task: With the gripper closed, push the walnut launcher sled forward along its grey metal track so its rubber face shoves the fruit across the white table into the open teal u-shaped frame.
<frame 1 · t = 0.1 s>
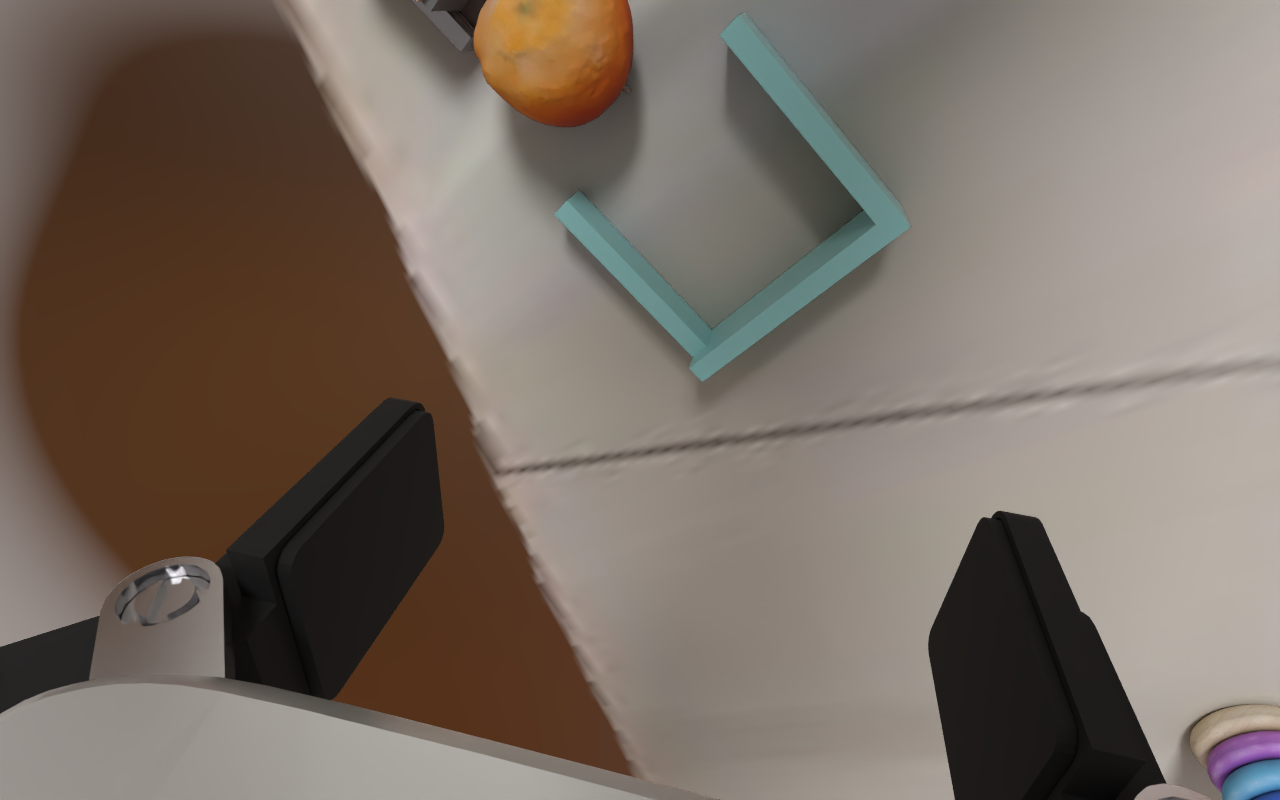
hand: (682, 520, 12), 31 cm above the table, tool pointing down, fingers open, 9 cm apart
teal u-shaped frame: (724, 203, 40), on the table
fruit: (579, 38, 37), on the table
stacking toy: (1246, 730, 51), on the table
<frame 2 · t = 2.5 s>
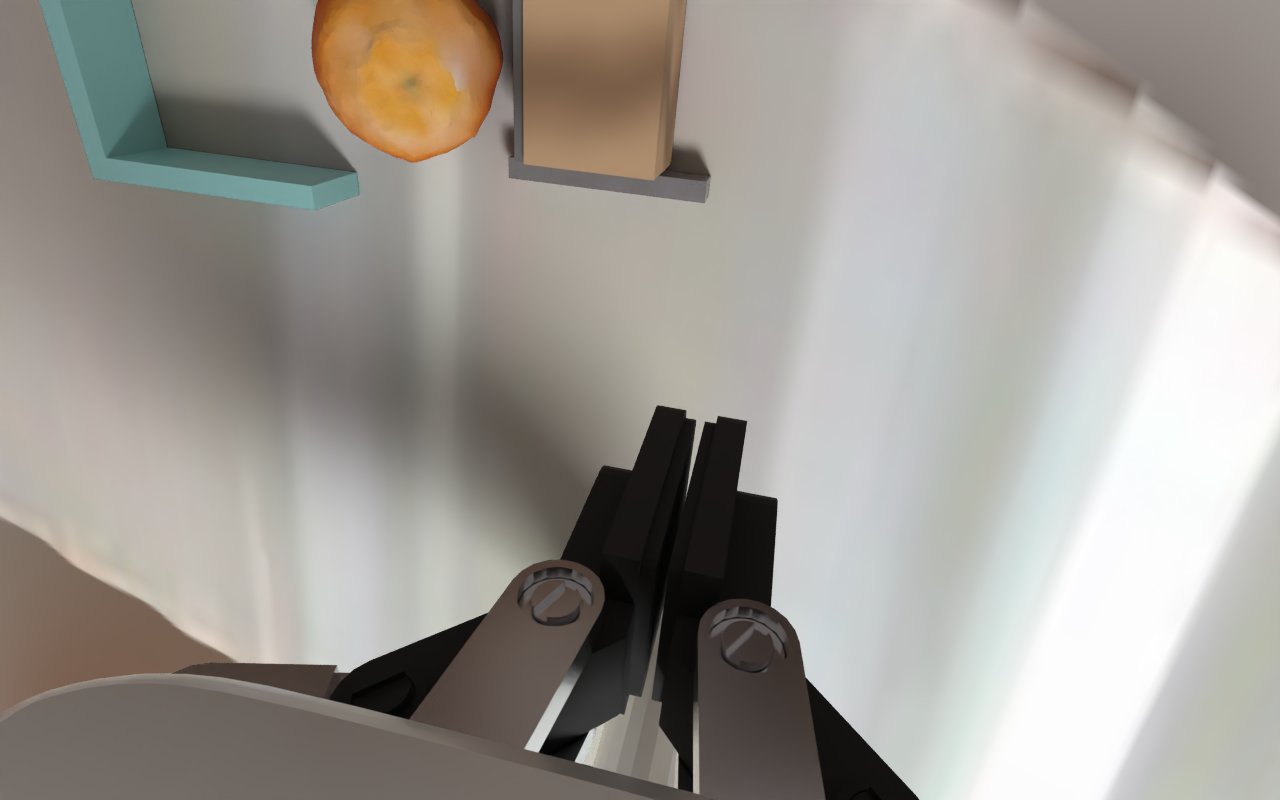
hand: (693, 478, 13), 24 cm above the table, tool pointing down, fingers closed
teal u-shaped frame: (229, 39, 35), on the table
launcher sled: (598, 82, 30), point 3 cm above the table, slide at 0.0 cm
launcher track: (617, 79, 32), on the table
fruit: (445, 61, 34), on the table
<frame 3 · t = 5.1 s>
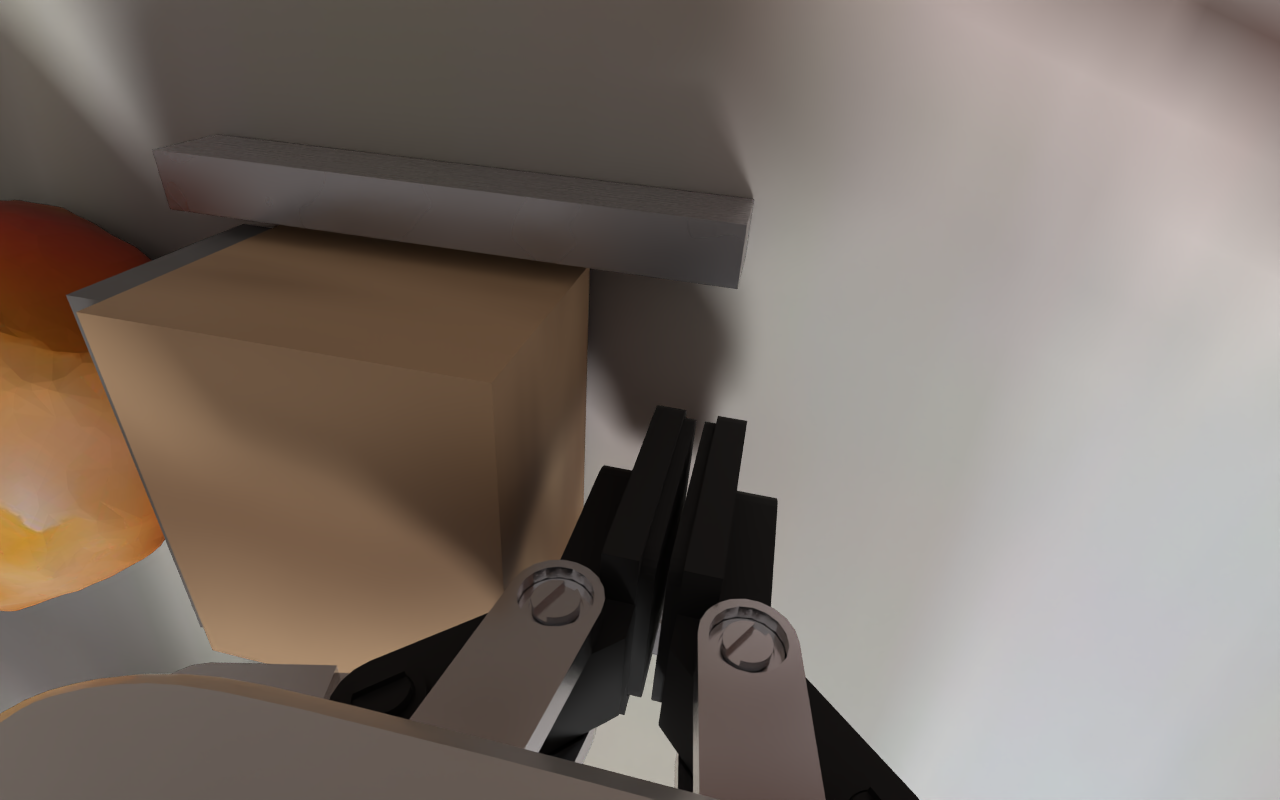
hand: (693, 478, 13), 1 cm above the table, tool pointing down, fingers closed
launcher sled: (379, 460, 12), point 3 cm above the table, slide at 0.7 cm, touching gripper
launcher track: (484, 401, 14), on the table
fruit: (131, 333, 16), on the table
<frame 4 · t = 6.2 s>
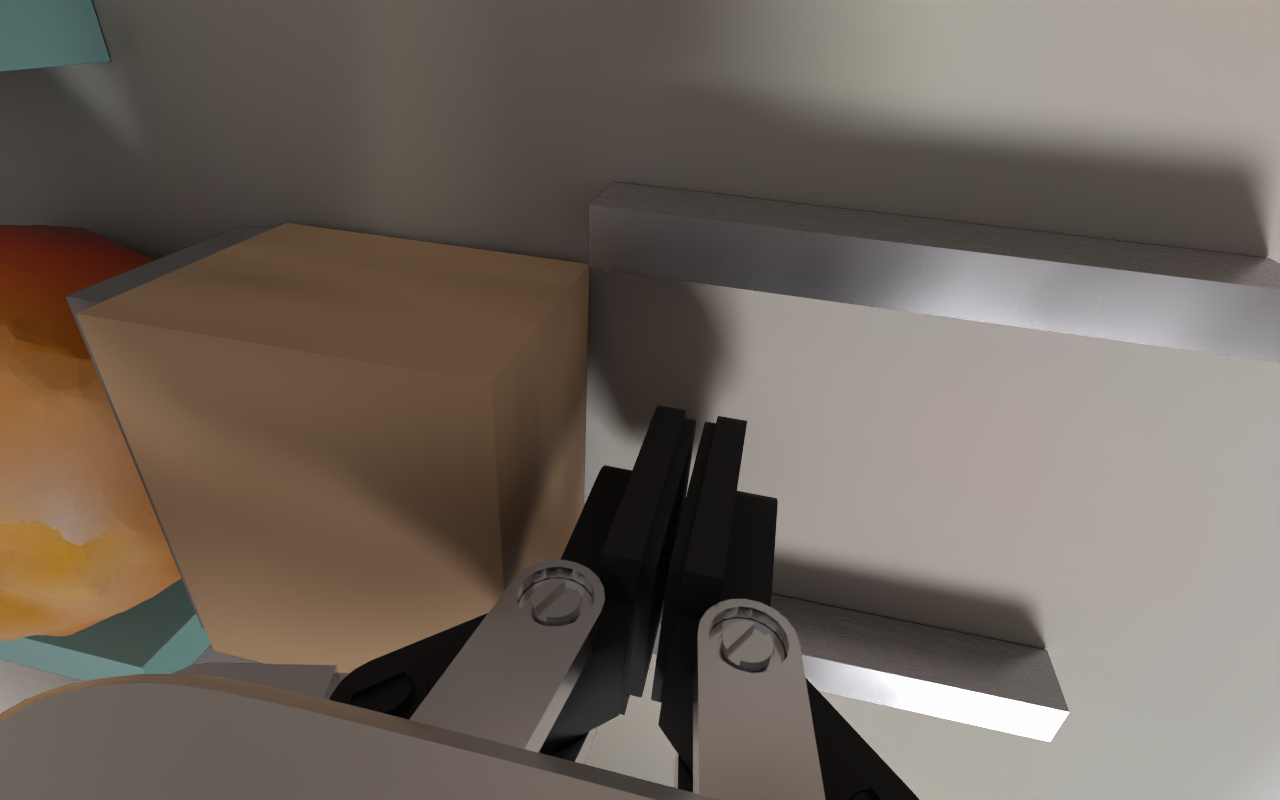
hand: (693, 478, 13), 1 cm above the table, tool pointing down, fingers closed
launcher sled: (380, 461, 12), point 3 cm above the table, slide at 8.3 cm, touching gripper
launcher track: (850, 464, 13), on the table
fruit: (163, 353, 16), on the table
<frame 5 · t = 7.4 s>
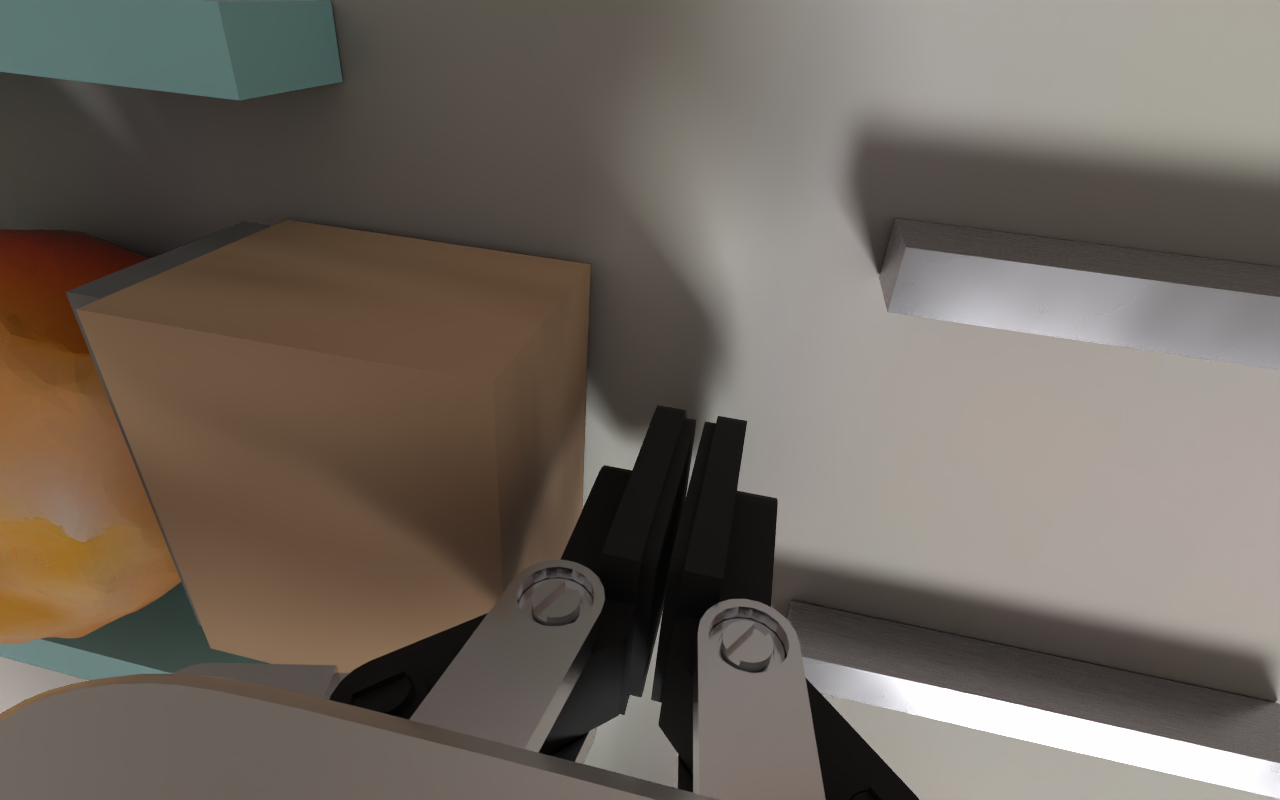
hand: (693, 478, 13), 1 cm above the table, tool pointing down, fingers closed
teal u-shaped frame: (128, 336, 16), on the table
launcher sled: (379, 459, 12), point 3 cm above the table, slide at 12.9 cm, touching fruit, gripper
launcher track: (1099, 512, 13), on the table
fruit: (166, 356, 16), on the table, touching launcher sled
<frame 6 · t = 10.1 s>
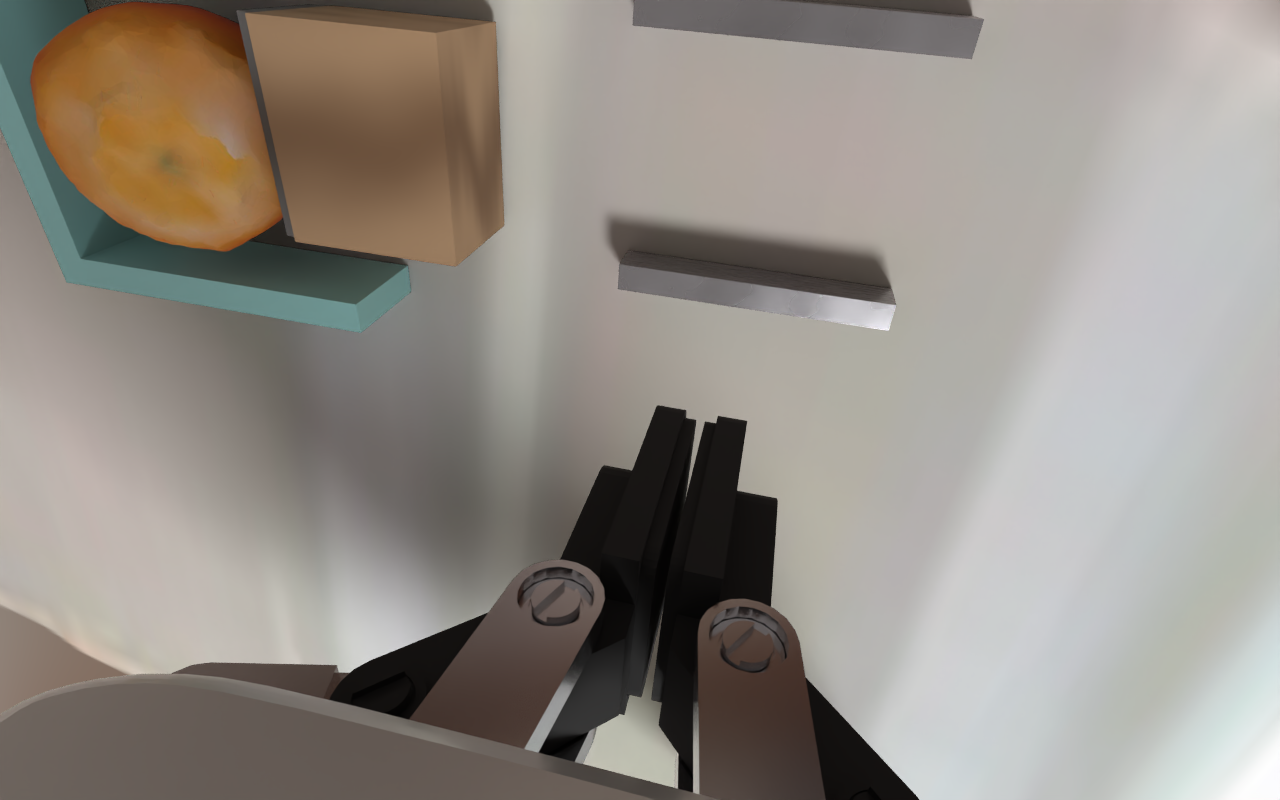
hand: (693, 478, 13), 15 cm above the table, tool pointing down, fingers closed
teal u-shaped frame: (234, 96, 26), on the table
launcher sled: (385, 133, 23), point 2 cm above the table, slide at 13.0 cm
launcher track: (775, 163, 24), on the table
fruit: (255, 112, 27), on the table
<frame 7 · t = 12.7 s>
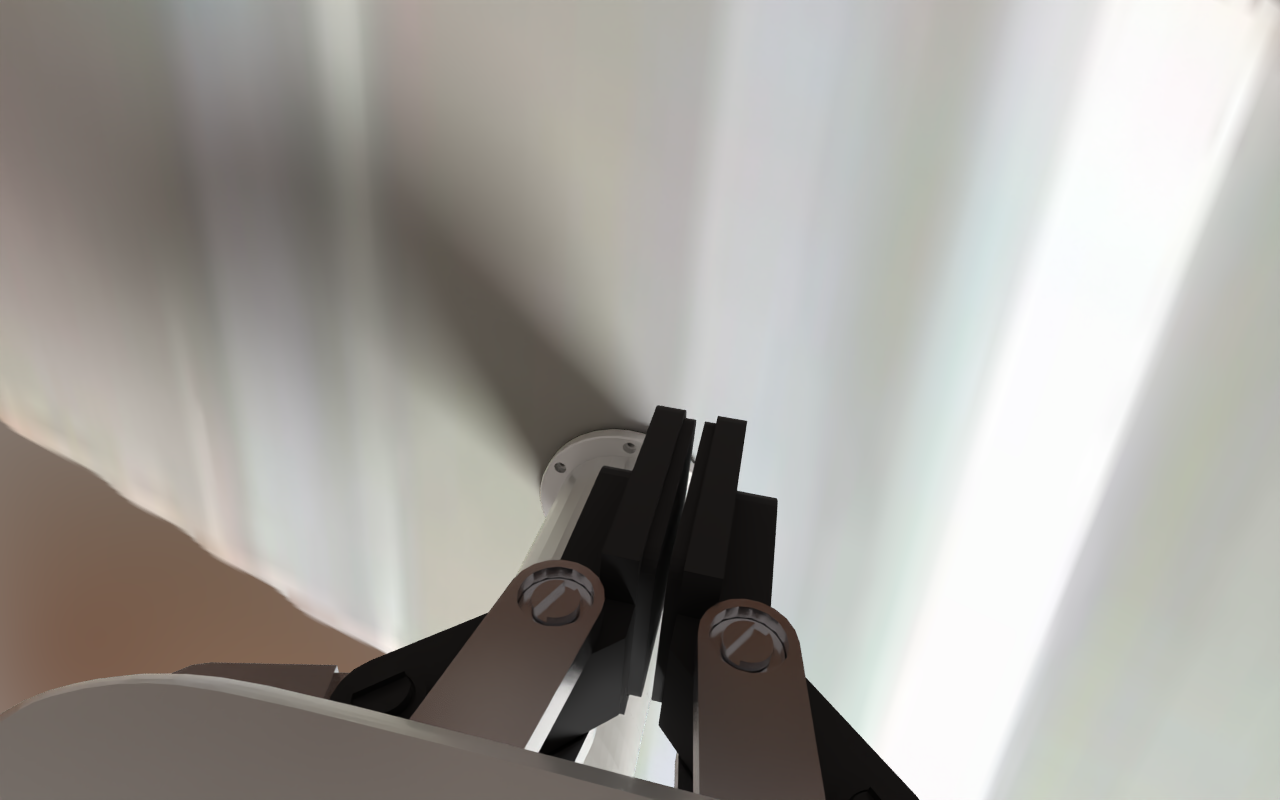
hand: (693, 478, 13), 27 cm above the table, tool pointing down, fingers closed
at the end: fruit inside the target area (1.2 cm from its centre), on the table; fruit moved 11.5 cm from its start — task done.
